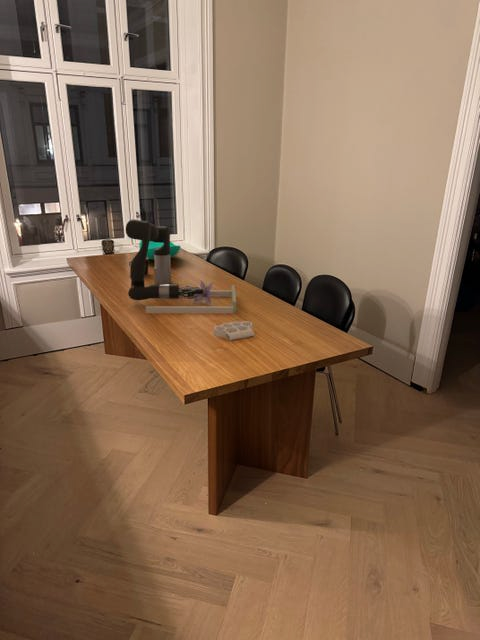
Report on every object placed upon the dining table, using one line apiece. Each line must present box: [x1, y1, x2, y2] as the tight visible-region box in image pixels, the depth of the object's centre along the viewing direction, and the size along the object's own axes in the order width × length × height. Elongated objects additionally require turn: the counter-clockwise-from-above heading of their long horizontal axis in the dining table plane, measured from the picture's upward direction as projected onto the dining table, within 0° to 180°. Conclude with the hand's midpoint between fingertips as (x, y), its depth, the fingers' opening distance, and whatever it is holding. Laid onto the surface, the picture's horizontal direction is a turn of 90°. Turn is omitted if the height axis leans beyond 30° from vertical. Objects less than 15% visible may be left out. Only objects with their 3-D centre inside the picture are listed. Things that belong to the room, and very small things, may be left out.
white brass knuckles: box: [213, 320, 256, 342], centre depth 187 cm, size 3×18×15 cm
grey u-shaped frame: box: [145, 284, 237, 314], centre depth 222 cm, size 44×28×6 cm, turn 93°
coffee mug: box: [128, 257, 150, 276], centre depth 275 cm, size 12×9×10 cm
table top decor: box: [139, 240, 182, 261], centre depth 311 cm, size 40×28×13 cm
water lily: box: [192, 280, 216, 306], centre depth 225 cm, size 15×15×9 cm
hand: (203, 291), depth 220 cm, fingers closed
